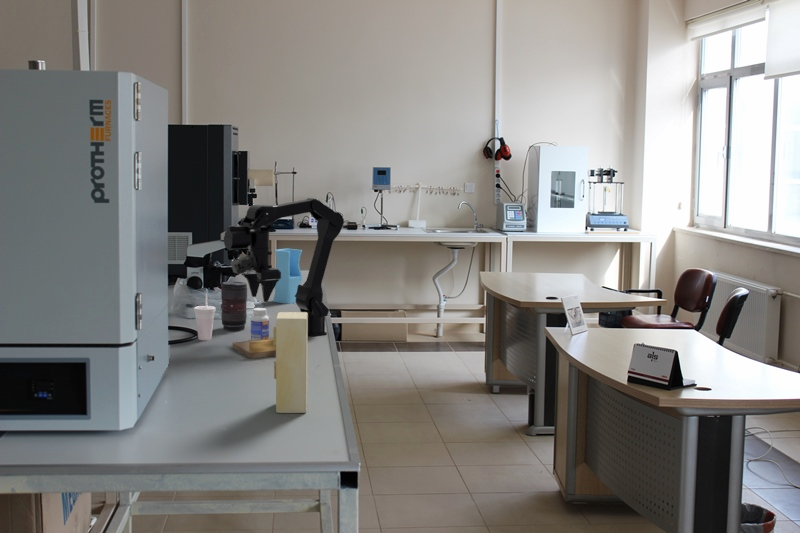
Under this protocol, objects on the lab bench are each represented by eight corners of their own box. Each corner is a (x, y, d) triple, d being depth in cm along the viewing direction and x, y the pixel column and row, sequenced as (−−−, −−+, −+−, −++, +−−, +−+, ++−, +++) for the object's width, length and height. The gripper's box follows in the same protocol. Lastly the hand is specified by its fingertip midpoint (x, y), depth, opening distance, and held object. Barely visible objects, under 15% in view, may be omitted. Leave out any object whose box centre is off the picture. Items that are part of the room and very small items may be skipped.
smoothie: (210, 342, 237) (210, 295, 235) (190, 340, 238) (190, 294, 236) (219, 337, 243) (219, 292, 241) (199, 336, 244) (199, 291, 242)
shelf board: (280, 342, 239) (280, 327, 238) (300, 352, 227) (300, 337, 226) (232, 347, 231) (232, 332, 230) (250, 358, 219) (250, 342, 218)
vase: (288, 304, 302) (288, 251, 299) (272, 301, 306) (273, 249, 304) (301, 301, 309) (302, 250, 306) (286, 298, 313) (286, 248, 310)
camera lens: (244, 332, 252) (244, 285, 250) (218, 331, 252) (218, 284, 250) (249, 326, 260) (249, 281, 258) (224, 325, 260) (224, 280, 258)
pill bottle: (265, 343, 237) (265, 311, 236) (247, 342, 238) (248, 310, 237) (271, 339, 242) (271, 308, 241) (254, 338, 244) (254, 306, 242)
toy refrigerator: (274, 402, 180) (275, 311, 178) (307, 402, 181) (308, 311, 178) (271, 413, 172) (272, 318, 170) (306, 413, 173) (307, 318, 170)
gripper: (222, 245, 240) (223, 296, 242) (245, 252, 225) (245, 306, 227) (257, 243, 246) (257, 293, 248) (281, 250, 230) (281, 303, 233)
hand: (259, 299), depth 239 cm, fingers open, 9 cm apart
